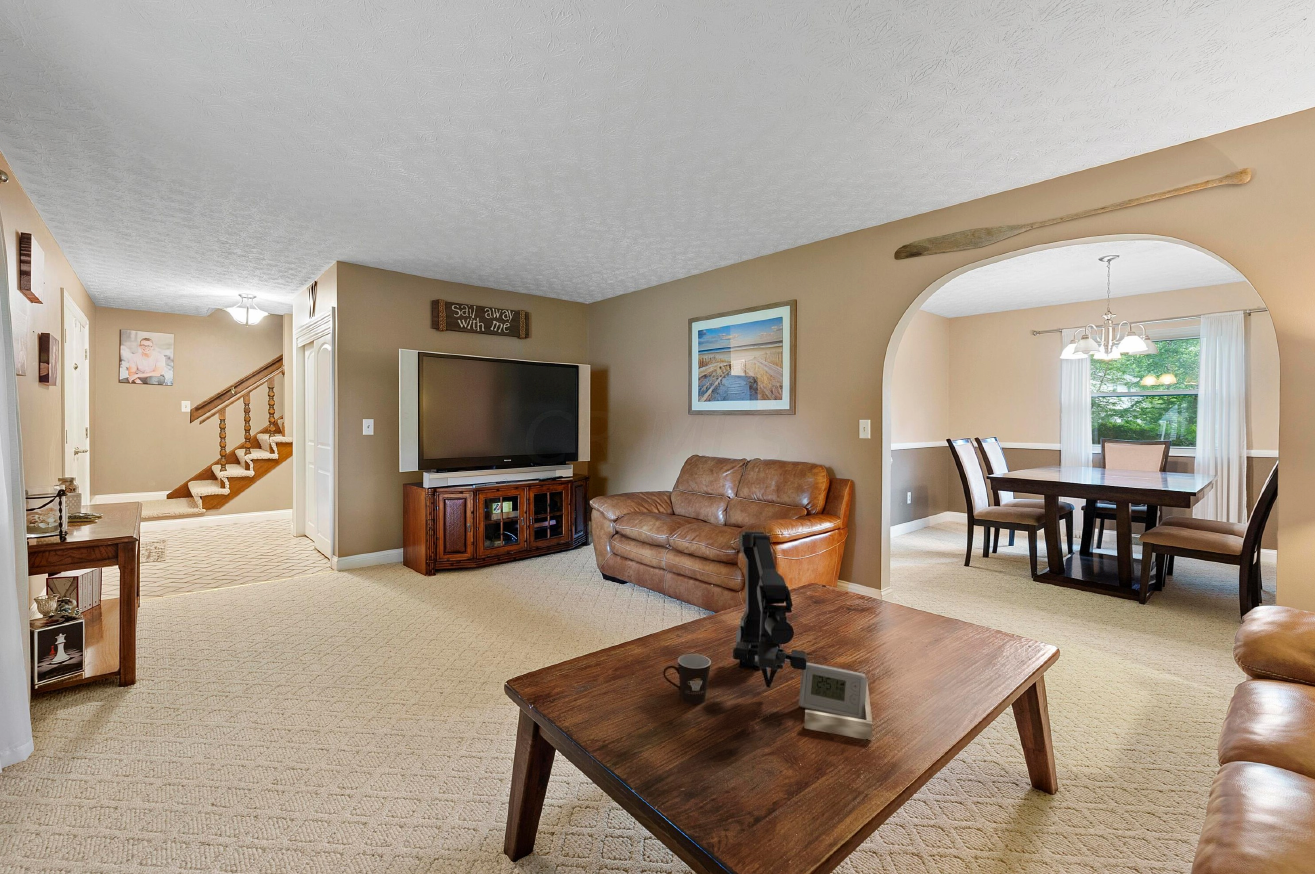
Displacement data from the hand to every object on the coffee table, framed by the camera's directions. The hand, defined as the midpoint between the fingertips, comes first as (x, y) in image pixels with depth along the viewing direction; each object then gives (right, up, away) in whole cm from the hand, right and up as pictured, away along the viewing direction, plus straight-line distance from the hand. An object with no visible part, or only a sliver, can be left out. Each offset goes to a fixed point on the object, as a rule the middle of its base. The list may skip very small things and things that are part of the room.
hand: (768, 686), depth 155 cm
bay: (+16, -4, -5) cm, 17 cm away
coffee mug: (-21, -3, -1) cm, 22 cm away
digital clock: (+15, -4, -5) cm, 16 cm away
